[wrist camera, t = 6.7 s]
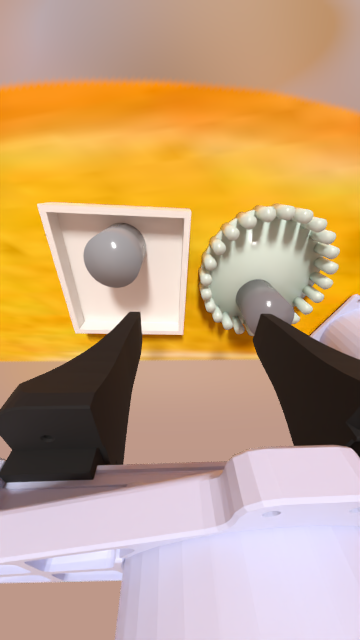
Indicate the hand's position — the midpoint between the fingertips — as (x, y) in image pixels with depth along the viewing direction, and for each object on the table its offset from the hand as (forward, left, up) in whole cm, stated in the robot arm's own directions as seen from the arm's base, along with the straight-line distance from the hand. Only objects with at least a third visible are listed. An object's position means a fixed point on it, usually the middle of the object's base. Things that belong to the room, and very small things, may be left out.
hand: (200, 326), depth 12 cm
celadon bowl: (-7, -3, -10) cm, 12 cm away
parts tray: (+5, +3, -10) cm, 12 cm away
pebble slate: (+6, 0, -9) cm, 11 cm away
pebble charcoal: (-8, -1, -9) cm, 12 cm away
